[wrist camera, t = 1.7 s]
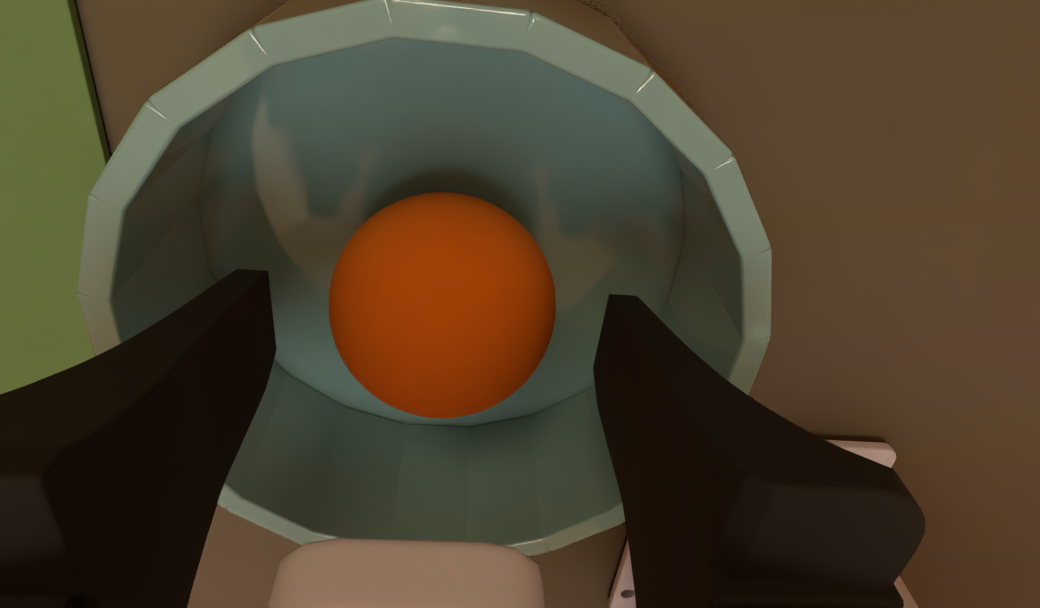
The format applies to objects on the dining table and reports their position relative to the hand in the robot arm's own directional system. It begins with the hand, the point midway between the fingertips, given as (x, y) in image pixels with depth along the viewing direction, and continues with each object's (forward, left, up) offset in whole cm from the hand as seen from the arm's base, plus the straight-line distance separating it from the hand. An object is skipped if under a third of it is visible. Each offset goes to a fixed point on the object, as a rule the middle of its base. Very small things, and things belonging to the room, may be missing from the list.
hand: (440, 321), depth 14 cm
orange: (0, 0, -1) cm, 1 cm away
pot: (0, 0, -4) cm, 4 cm away
